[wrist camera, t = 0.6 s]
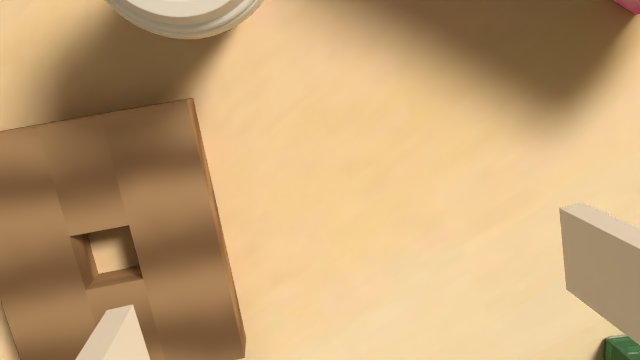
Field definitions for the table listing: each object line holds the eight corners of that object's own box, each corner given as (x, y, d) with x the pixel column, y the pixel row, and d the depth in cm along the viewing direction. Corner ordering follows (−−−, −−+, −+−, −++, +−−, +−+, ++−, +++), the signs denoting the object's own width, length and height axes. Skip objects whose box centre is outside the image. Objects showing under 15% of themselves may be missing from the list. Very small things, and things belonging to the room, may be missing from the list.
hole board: (-29, 136, 37) (-53, 142, 34) (192, 97, 38) (186, 100, 35) (50, 377, 42) (34, 401, 39) (245, 337, 43) (244, 357, 40)
